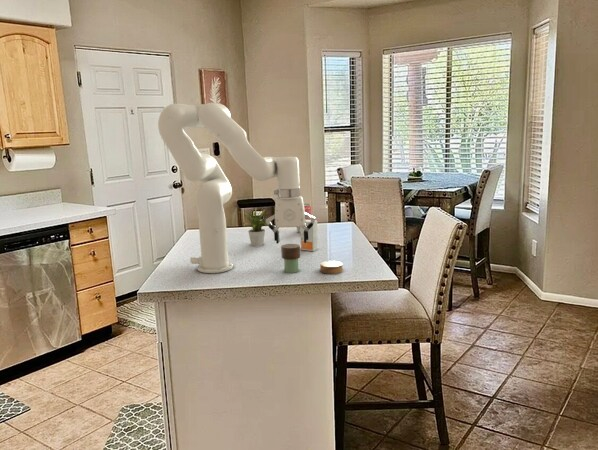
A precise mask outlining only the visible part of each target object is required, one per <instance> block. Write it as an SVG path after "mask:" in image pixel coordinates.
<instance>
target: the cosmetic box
mask: <svg viewBox="0 0 598 450" xmlns="http://www.w3.org/2000/svg"><path fill="white" fill-rule="evenodd" d="M310 222H311V220H305V224H306V225H307V226H308V225H309V224H310ZM318 233H319V232H318V220H317V219H316V220H315V222H314V224H313V226H312V227H311V228H310V229H309V230H308V236H309V240H307V242H306V243H304V229H303V228H302V227H300V233H299V234H300V235H299V237H300V240H299V241H300V251H308V252H309V251H310V252H315V251H317V250H318V249H319V246H318V245H319V241H318V239H319V238H318V237H319V235H318Z"/></svg>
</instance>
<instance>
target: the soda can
mask: <svg viewBox="0 0 598 450" xmlns="http://www.w3.org/2000/svg"><path fill="white" fill-rule="evenodd" d="M304 208H305V213H307V214H309V215H311V216H312V206H311V204H310V203H304ZM305 220H310V219H308V218H305ZM296 231H297V232H298V233H299V234H300V227H296Z"/></svg>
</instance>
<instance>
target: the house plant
mask: <svg viewBox="0 0 598 450" xmlns="http://www.w3.org/2000/svg"><path fill="white" fill-rule="evenodd" d="M266 210H267V209H266V208H265V209H264V208H263V209H261V210H260V211H259V212H258V214H257V206H256V207H255V210H254V211H253V214H252V212H249V213H248V211H247V212H246V211H245V212H244V215H245V216H246V218H247V219H248V220H249V222H250V224H249V223H248V222H243V223H242V225H243V226H244V227H245V226H246V225H247V226H249V227H250V228H251V229H248V231H247V232H248V236H249V240H250V246H252V247H261V246H263V245H264V243H265V235H266V230H265V229H264V228H263V227H264V226H266V227H268V225H267V223H266V221H265V220H266V219H267V218H265V219H263V217H265V215H267V214H268V213H270V211H268V212H267V213H266V214H265V212H266ZM240 213H241V214H242V212H241V211H239V214H240Z"/></svg>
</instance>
